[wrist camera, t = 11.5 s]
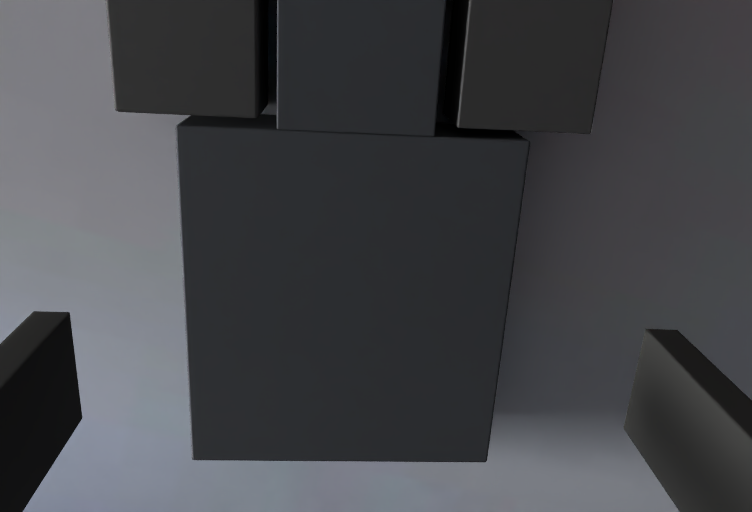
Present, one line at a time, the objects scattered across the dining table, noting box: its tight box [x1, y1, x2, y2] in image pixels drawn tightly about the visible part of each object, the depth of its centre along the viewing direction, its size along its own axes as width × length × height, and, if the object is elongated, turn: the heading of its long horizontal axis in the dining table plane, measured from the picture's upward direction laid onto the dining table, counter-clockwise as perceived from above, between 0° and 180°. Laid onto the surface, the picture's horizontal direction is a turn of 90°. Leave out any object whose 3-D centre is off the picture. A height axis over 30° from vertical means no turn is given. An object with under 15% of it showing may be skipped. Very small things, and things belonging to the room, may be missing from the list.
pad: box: [175, 0, 530, 462], centre depth 19 cm, size 9×14×2 cm, turn 177°
